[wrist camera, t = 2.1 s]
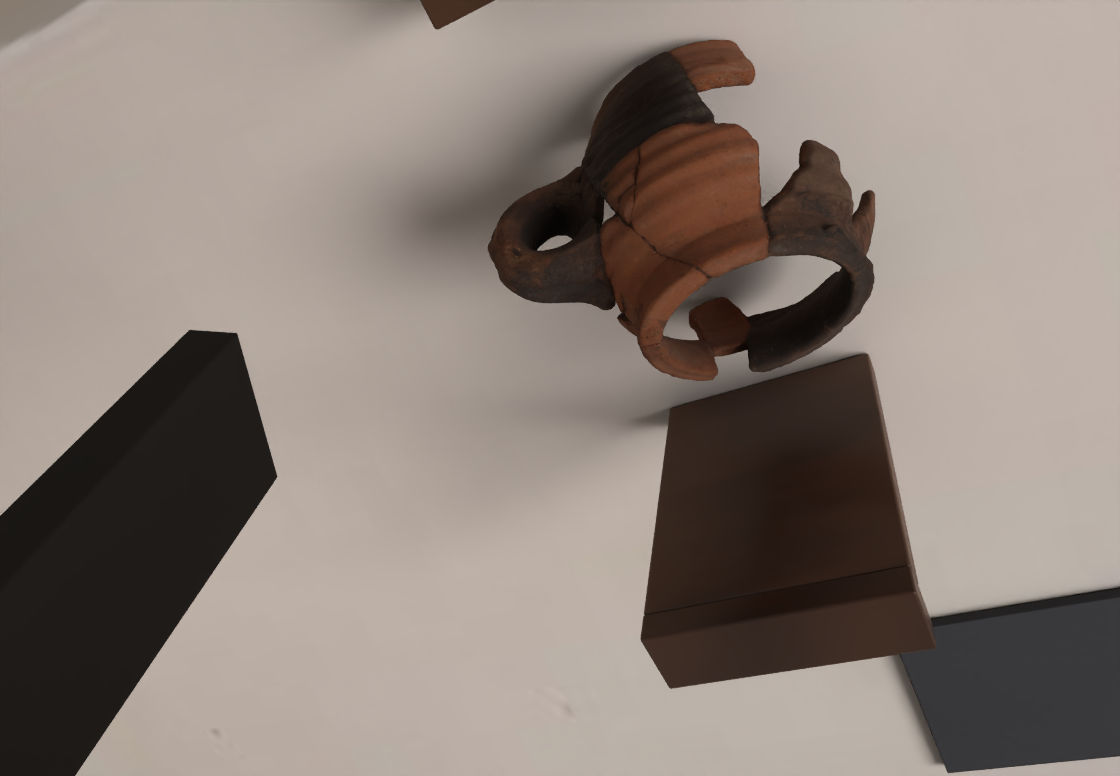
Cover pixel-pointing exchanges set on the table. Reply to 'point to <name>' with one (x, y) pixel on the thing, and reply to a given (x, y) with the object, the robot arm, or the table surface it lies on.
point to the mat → (1023, 683)
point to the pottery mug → (688, 222)
